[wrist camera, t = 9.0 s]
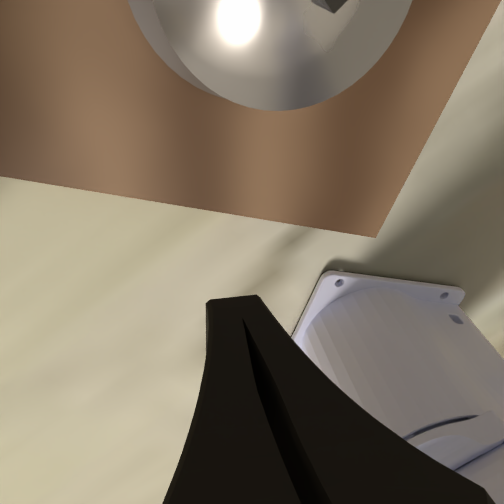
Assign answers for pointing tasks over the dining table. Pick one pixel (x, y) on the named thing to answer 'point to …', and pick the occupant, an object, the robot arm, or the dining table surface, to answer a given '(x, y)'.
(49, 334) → the dining table surface
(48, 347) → the dining table surface
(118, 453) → the dining table surface
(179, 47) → the steel cap
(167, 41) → the post base
